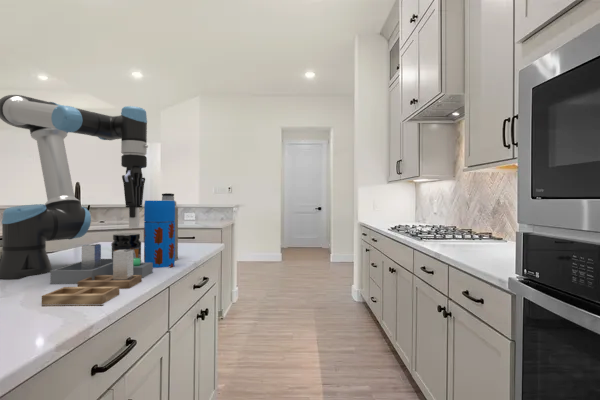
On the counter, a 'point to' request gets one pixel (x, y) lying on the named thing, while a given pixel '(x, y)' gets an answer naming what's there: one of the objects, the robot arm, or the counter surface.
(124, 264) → the block
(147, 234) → the thermos
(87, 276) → the tote
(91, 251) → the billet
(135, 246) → the supplement container
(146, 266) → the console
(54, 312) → the counter surface
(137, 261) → the button
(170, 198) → the thermos bottle
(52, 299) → the pallets
